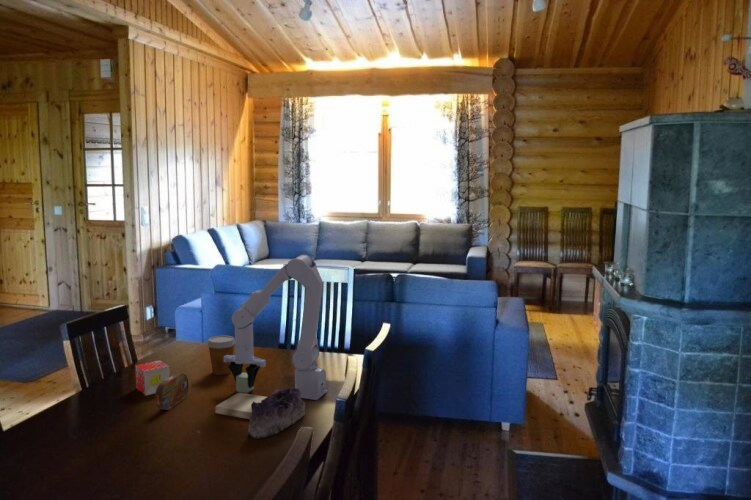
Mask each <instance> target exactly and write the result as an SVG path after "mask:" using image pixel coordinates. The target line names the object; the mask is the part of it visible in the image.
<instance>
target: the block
mask: <svg viewBox="0 0 751 500" xmlns="http://www.w3.org/2000/svg"><path fill="white" fill-rule="evenodd" d="M235 386H236V390H235V391H236V393H238V392H239V393H245V394H249V393H250V392H251V391H253V390H254V389H255V385H254V386H253V387H251V388H249V386H248V375H247V372H242V373H241V374H239V375H238V376H236V382H235Z"/></svg>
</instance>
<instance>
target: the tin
mask: <svg viewBox="0 0 751 500" xmlns="http://www.w3.org/2000/svg"><path fill="white" fill-rule="evenodd" d="M188 391H189V379H188V376H187V375H186V374H185V373H174V374H172V375H170V377H169V378H167V379H166V380H164V381H163V382H161V383H160V384H159V385H158V387H157V389H156V393H154V397H155V403H156V405H155V406H156V407H157V409H159V410H164V411H170V410H172V409H173V408H174V407H176V406H177V405H178V404H180V403H181V402H183V401H184V400H185V398H186V397H187V395H188Z"/></svg>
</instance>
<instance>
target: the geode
mask: <svg viewBox="0 0 751 500" xmlns="http://www.w3.org/2000/svg"><path fill="white" fill-rule="evenodd" d="M300 395H301V391H300V390H299V389H296V388H295V387H294V388H292V389H290V388H288V387H287V388H284V389H279V388H277V389H276V390H275V391H274V392H272V394H271V395H269V396H266V397H267V398H265V399H264V400H262V401H261V403H259V402H258V403H255V402H254V401H253V403H252V404H251V409H252V415H251V416H250V419H249V423H248V429H247V432H248V435H249V436H250V438H251V439H254V440H262V439H267V438H271V437H275V436H277V435H278V434H279V433H280V432H282V431H284V430H286V428H287V429H288V427H290V426H292V425H294V424H295V423H297V422H298V421H299V420H300V419H301V418H303V417H304V416H306V402H305V401H304V400H303V399H302V398H300Z"/></svg>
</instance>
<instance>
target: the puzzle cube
mask: <svg viewBox="0 0 751 500" xmlns="http://www.w3.org/2000/svg"><path fill="white" fill-rule="evenodd" d="M170 374H171V373H170V365H168V364H166V363H164V362H163V361H162V360H155V361H150V362H145V363H139V364H135V386H136V387H135V388H137V391H139V392H140V391H141V392H142V393H141V392H140V393H141V394H142V395H144V396H149V395H153V394H154V395H155V393H156V389H157V387H158V385H159V384H160V383H161V382H163V381H164V380H166V379H167V378H169V377H170V376H171V375H170Z"/></svg>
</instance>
